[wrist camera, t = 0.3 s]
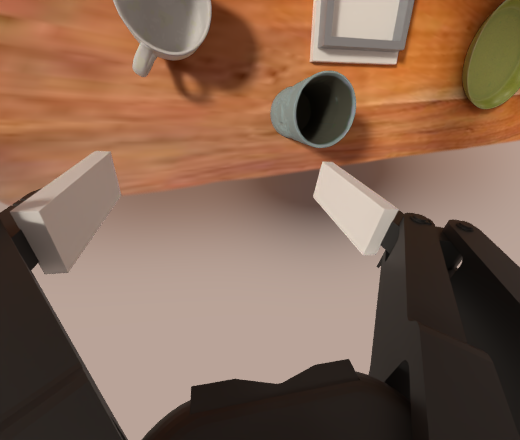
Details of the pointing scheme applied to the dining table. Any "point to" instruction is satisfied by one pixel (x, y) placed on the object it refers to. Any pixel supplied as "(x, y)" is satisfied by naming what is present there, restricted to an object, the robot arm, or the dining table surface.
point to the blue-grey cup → (315, 109)
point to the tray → (359, 30)
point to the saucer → (494, 58)
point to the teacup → (165, 28)
